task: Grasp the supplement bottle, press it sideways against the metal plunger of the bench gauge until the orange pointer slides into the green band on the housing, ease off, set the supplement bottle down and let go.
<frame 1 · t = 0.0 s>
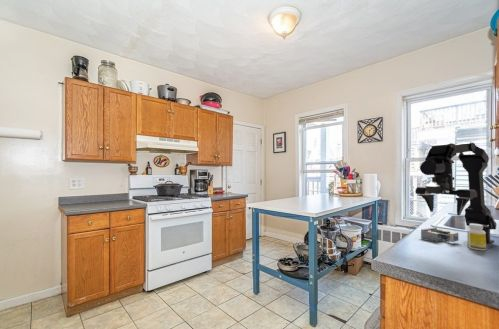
hand: (444, 213, 93), 15 cm above the worktop, fingers open, 9 cm apart
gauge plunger: (444, 234, 104), point 3 cm above the worktop, slide at 0.0 cm
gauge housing: (435, 239, 107), on the worktop
supplement bottle: (476, 249, 94), on the worktop
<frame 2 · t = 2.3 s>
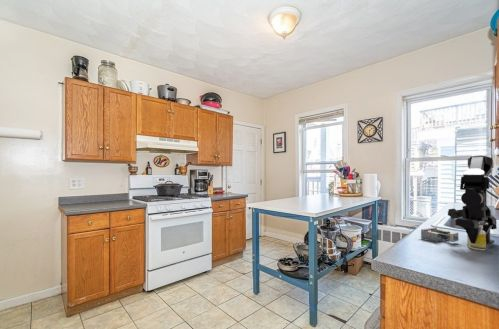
hand: (476, 242, 94), 3 cm above the worktop, fingers closed on supplement bottle, 5 cm apart
supplement bottle: (476, 249, 94), on the worktop, touching gripper
everything else where it was.
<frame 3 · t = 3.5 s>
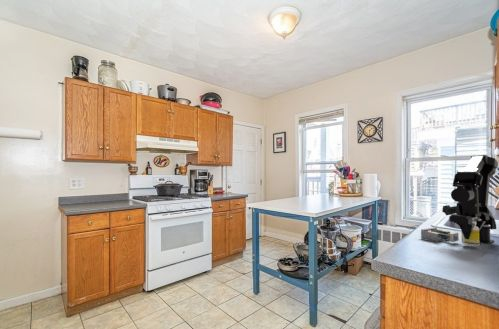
hand: (470, 238, 96), 4 cm above the worktop, fingers closed on supplement bottle, 5 cm apart
supplement bottle: (470, 244, 96), point 1 cm above the worktop, touching gripper
everything else where it was.
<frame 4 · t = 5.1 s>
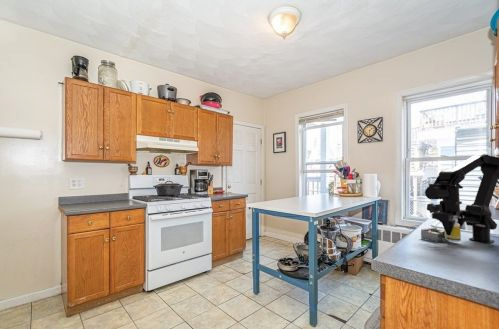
hand: (452, 234, 102), 4 cm above the worktop, fingers closed on supplement bottle, 5 cm apart
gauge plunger: (435, 232, 108), point 3 cm above the worktop, slide at 3.9 cm, touching supplement bottle
supplement bottle: (452, 240, 102), point 1 cm above the worktop, touching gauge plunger, gripper
when the fingers open (3 cm above the worktop, at t = 6.6 s): supplement bottle stays where it is, on the worktop.
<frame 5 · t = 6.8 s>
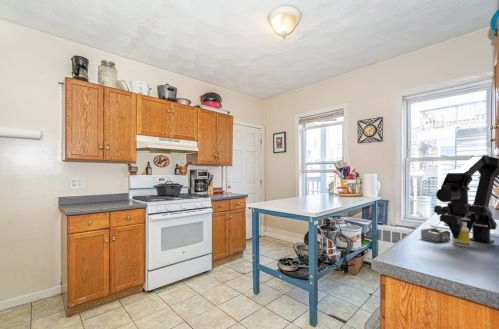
hand: (460, 237, 99), 3 cm above the worktop, fingers open, 7 cm apart
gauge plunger: (435, 232, 108), point 3 cm above the worktop, slide at 3.9 cm
supplement bottle: (461, 245, 99), on the worktop
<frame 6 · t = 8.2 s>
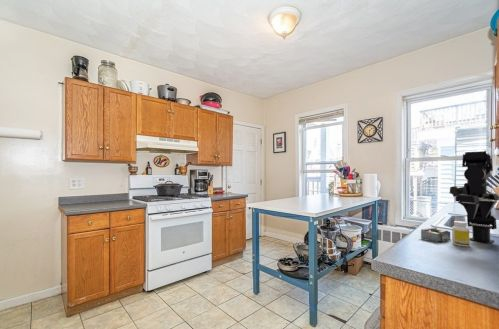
hand: (478, 218, 95), 12 cm above the worktop, fingers open, 9 cm apart
nothing on the worktop moved.
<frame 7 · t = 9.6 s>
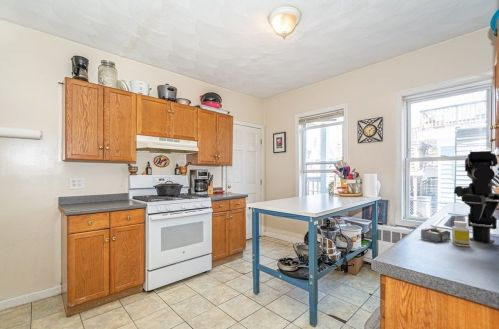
hand: (483, 218, 94), 12 cm above the worktop, fingers open, 9 cm apart
nothing on the worktop moved.
at the end: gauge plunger slide at 3.9 cm; the gripper is holding nothing; supplement bottle tilted 0° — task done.
